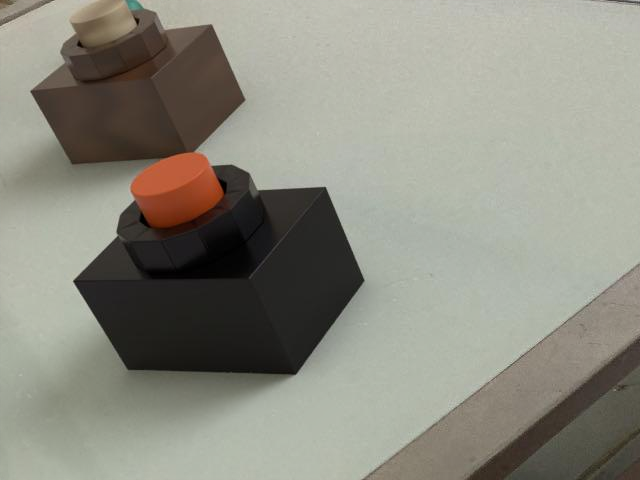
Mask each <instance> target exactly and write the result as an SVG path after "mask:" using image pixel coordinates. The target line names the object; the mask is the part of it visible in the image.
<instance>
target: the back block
mask: <svg viewBox="0 0 640 480" xmlns="http://www.w3.org/2000/svg"><path fill="white" fill-rule="evenodd" d="M131 13H132V15H133V17H134V19H135V22H136V24H137V26H136V27H135V28H134V29H133V30H132V31H130V32H129V33H127V34H126V35H124V36H122V37H120V38H118V39H116V40H114V41H111V42H108V43H105V44H102V45H99V46H96V47H88V48H83V46H82V44H81V42H80V40H79V39H78V37H77V35H76V33H74V34H73V35H71V37H69V38H68V39H67V40H65V41H64V42H63V44H62V46H61V48H60V50H59V51H60V52H59V54H60V55H61V57H62V59H63V61H64V63H63V64H61V65H60V66H59V67H58V68H57V69H55V70H54V71H53V72H51V73H50V74H49V75H48V76H47V77H46V78H44V79H43V80H42V81H40V82H39V83H38V84H36V85H35V86H34V87H33V88H32V89H30V91H29V92H30V94H31V96H32V97H33V99H34V101H35V103H36V104H37V106H38V108H39V110H40V111H41V113H42V115H43V117H44V119H45V120H46V122H47V124H48V125H49V128H50V129H51V130H52V132H53V134H54V136H55V137H56V139H57V141H58V142H59V145H60V146H61V148H62V150H63V152H64V153H65V155H66V157H67V158H68V160H69V161H70V164H71V165H83V164H84V165H85V164H98V163H99V164H100V163H114V162H128V161H129V162H130V161H144V160H159V159H160V160H161V159H166V158H168V157H171V156H175V155H178V154H183V153H193V152H194V153H195V151H197V150H198V149H199V148H200V146H202V145H203V143H204V142H206V140H207V139H209V137H210V136H212V134H214V132H215V131H216V130H218V128H220V127H221V125H222V124H224V122H225V121H227V119H228V118H230V117H231V116H232V115H233V114H234V112H236V111H237V109H239V107H240V106H241V105H243V103H245V102H246V98H245V95H244V93H243V91H242V89H241V87H240V84H239V82H238V79H237V78H236V75H235V73H234V71H233V68H232V66H231V64H230V61H229V59H228V57H227V55H226V52H225V50H224V48H223V46H222V43H221V41H220V39H219V36H218V35H217V32H216V30H215V28H214V25H213V24H212V23H209V24H201V25H193V26H185V27H184V26H183V27H177V28H169V29H165V28H164V26H163V24H162V21H161V19H160V17H159V16H158V13H157V12H156V11H153V10H150V9H148V8H144V9H139V10H132V11H131Z"/></svg>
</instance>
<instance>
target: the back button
mask: <svg viewBox="0 0 640 480" xmlns="http://www.w3.org/2000/svg"><path fill="white" fill-rule="evenodd" d="M68 20H69V21H68V22H69V24H70V25H71V28H72V29H73V32H74V34H76V35H77V37H78V39H79V40H80V42H81V44H82V46H83V48H88V47H96V46H99V45H102V44H105V43H108V42H111V41H114V40H116V39H118V38H120V37H122V36H124V35H126V34H127V33H129V32H130V31H132V30H133V29H134V28H135V27H136V26H137V24H136V22H135V19H134V17H133V15H132V13H131V11H130V9H129V7H128V5H127V3H126V1H125V0H96V1H94V2H92V3H89V4H87V5H85V6H83V7H81V8H80V9H78V10H77V11H76V12H74V13H73V14H72V15H71V16H70V17H69V19H68Z"/></svg>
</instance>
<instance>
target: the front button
mask: <svg viewBox="0 0 640 480" xmlns="http://www.w3.org/2000/svg"><path fill="white" fill-rule="evenodd" d="M211 166H212V165H211V162H210V160H209V159H208V157H207V156H206V155H205V154H204V153H200V152H195V151H194V152H193V153H183V154H178V155H175V156H171V157H168V158H162V159H160V160H159V161H157V162H155V163H153V164H151V165H150V166H148V167H146V168H145V169H143V170H142V171H141V172H140V173H138V174H137V175H136V176H135V178H134V179H133V180H132V182H131V183H130V187H129V189H130V193H131V194H132V197H133V199H134V200H136V202H137V204H138V206H139V208H140V210H141V211H142V213H143V215H144V217H145V219H146V221H147V222H148V224H149V226H150V227H151V228H167V227H172V226H175V225H178V224H181V223H185V222H188V221H191V220H193V219H194V218H196V217H198V216H199V215H201V214H203V213H205V212H206V211H208V210H210V209H211V208H213V207H214V206H215V205H216V204H217V203H218V202H219V201H220V200H221V198H222V197H223V196H224V192H223V189H222V187H221V185H220V183H219V181H218V179H217V177H216V175H215V173H214V171H213V169H212V167H211Z"/></svg>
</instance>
